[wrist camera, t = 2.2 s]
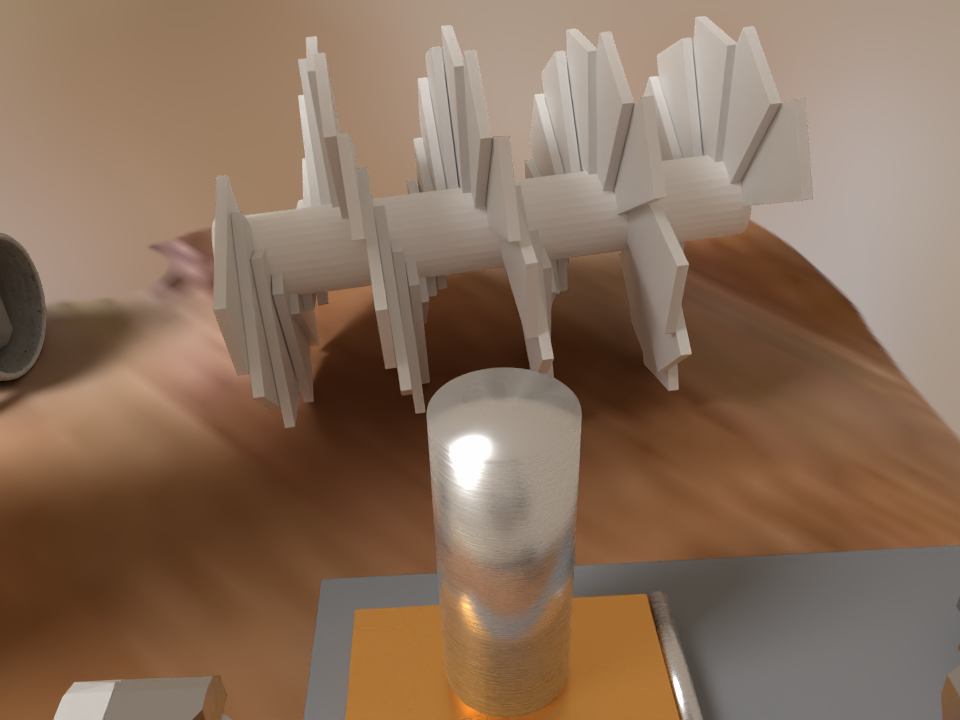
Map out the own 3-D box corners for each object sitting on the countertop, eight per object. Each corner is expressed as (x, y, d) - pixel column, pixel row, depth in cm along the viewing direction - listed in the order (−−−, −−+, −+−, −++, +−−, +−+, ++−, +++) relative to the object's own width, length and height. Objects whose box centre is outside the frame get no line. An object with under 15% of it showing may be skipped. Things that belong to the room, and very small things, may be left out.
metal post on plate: (346, 761, 27) (297, 488, 21) (357, 623, 31) (319, 363, 25) (704, 740, 27) (757, 464, 21) (666, 606, 32) (701, 346, 26)
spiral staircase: (276, 409, 53) (690, 347, 55) (224, 494, 35) (834, 398, 37) (222, 88, 50) (659, 36, 52) (136, 8, 32) (799, -65, 35)
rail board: (296, 886, 26) (286, 850, 25) (327, 615, 34) (321, 579, 33) (1139, 834, 27) (1165, 796, 26) (970, 580, 35) (985, 543, 34)
